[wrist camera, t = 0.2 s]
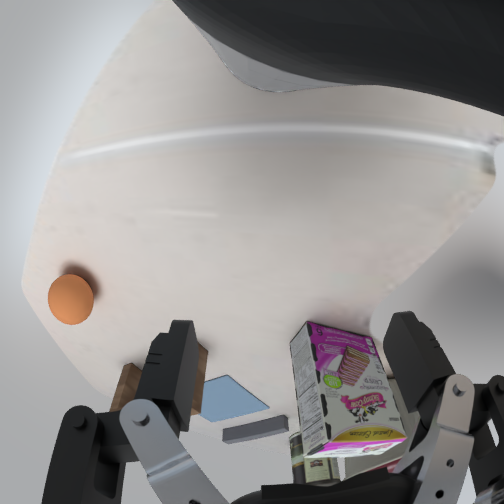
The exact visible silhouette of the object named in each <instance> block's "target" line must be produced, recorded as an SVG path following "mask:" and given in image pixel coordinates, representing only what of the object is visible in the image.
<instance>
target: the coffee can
mask: <svg viewBox="0 0 504 504" xmlns="http://www.w3.org/2000/svg"><path fill="white" fill-rule="evenodd" d="M289 441H290V449H291V458H292V459H291V460H292V472H293V483H296V484H304V485H314V486H331V485H334V484H336V483H339V482H341V481H340V475H339V469H338V463H337V458H304V457H303V452H302V443H301V433H300V432H298V433H296V434H294V435H292V436H291V437H290V438H289Z"/></svg>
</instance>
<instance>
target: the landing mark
mask: <svg viewBox="0 0 504 504" xmlns="http://www.w3.org/2000/svg"><path fill="white" fill-rule="evenodd" d="M265 409H269V407H268V406H267V405H266V404H264V403H263V402H262V401H260V400H259V399H258V398H256V397H255V396H254V395H252V394H251V393H250V392H248V391H247V390H246V389H245V388H243V387H242V386H241V385H239V384H238V383H237V382H236V381H234V380H233V379H232V378H231V377H229V376H228V375H225V376H222V377H219V378H216V379H212V380H209V381H206V382H204V389H203V398H202V407H201V414H199V415H200V416H202V417H204V418H205V419H207V420H209V421H210V422H215V421H220V420H225V419H229V418H234V417H238V416H242V415H246V414H250V413H254V412H258V411H261V410H265Z"/></svg>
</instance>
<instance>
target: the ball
mask: <svg viewBox="0 0 504 504" xmlns="http://www.w3.org/2000/svg"><path fill="white" fill-rule="evenodd" d="M93 303H94V298H93V293H92V290H91V288H90V286H89V285H88V283H87V282H86V281H85V280H84V279H82V278H81V277H79V276H77V275H73V274H66V275H63V276H60V277H59V278H57V279H56V280H55V281H54V282H53V283H52V285H51V287H50V289H49V293H48V304H49V307H50V310H51V312H52V313H53V315H54V316H55V317H56V318H57V319H58V320H59V321H61V322H63V323H65V324H69V325H75V324H79V323H81V322H83V321H84V320H86V319H87V318H88V316H89V315H90V313H91V311H92V308H93Z"/></svg>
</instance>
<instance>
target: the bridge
mask: <svg viewBox="0 0 504 504" xmlns="http://www.w3.org/2000/svg"><path fill="white" fill-rule="evenodd" d="M197 343H198V342H197ZM198 349H199V361H198V368H197V374H196V381H195V388H194V394H193V401H192V408H191V415H196V414H201V407H202V398H203V389H204V381H205V372H206V364H207V355H208V351H207V350H206V349H205V348H203V347H202V346H201V345H200V344H199V343H198ZM141 374H142V371H141V370H140V369H139V368H137V367H136V366H135V365H133V364H132V363H130V364H127V365H125V366H124V367H123V370H122V373H121V376H120V379H119V382H118V385H117V388H116V391H115V395H114V398H113V401H112V404H111V408H110V411H109V412H113V411H118V410H121V409H122V408H123V407H124V406H125V405H126V404H127V403H129V402H130V401H132V400H133V399H134V397H135V394H136V391H137V387H138V384H139V381H140V377H141ZM191 415H190V416H191Z"/></svg>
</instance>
